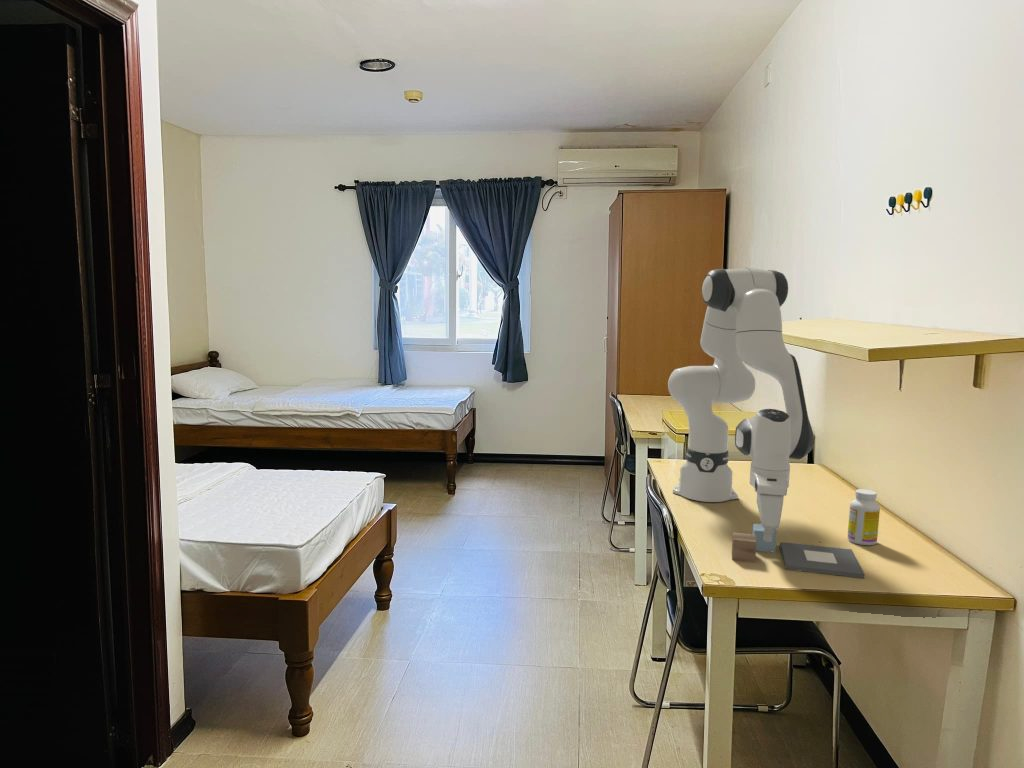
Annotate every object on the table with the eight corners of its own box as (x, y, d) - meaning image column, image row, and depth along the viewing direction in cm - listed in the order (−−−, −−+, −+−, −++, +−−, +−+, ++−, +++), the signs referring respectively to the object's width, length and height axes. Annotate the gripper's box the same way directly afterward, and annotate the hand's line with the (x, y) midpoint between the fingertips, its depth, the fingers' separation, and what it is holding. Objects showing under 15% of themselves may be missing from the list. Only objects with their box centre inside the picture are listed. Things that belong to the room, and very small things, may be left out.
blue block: (751, 543, 176) (753, 523, 175) (773, 545, 175) (774, 525, 174) (752, 550, 171) (754, 530, 171) (775, 552, 170) (776, 532, 169)
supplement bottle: (880, 541, 178) (885, 492, 176) (871, 548, 174) (876, 497, 172) (852, 534, 183) (857, 486, 181) (842, 541, 178) (847, 491, 176)
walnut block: (731, 552, 170) (732, 532, 169) (753, 555, 168) (755, 534, 168) (732, 560, 165) (733, 539, 164) (754, 562, 164) (756, 542, 163)
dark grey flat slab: (779, 545, 174) (780, 541, 174) (851, 553, 170) (851, 549, 170) (786, 569, 160) (786, 564, 160) (864, 578, 156) (864, 573, 156)
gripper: (752, 467, 181) (749, 519, 183) (758, 488, 161) (754, 547, 163) (779, 469, 179) (775, 522, 181) (788, 490, 160) (783, 550, 162)
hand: (765, 534), depth 172 cm, fingers open, 8 cm apart
